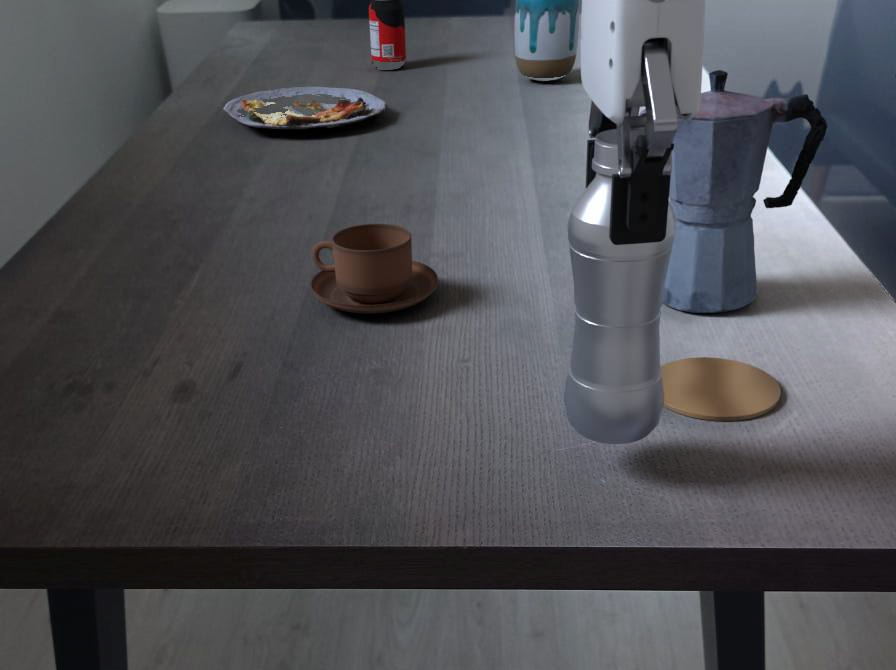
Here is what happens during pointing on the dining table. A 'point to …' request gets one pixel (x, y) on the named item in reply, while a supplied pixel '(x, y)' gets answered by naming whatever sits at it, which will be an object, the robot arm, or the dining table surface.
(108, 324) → the dining table surface
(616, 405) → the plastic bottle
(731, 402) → the coaster
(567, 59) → the vase
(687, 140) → the moka pot
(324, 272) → the cup and saucer
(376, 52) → the beverage can
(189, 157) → the dining table surface
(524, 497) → the dining table surface
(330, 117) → the food plate
